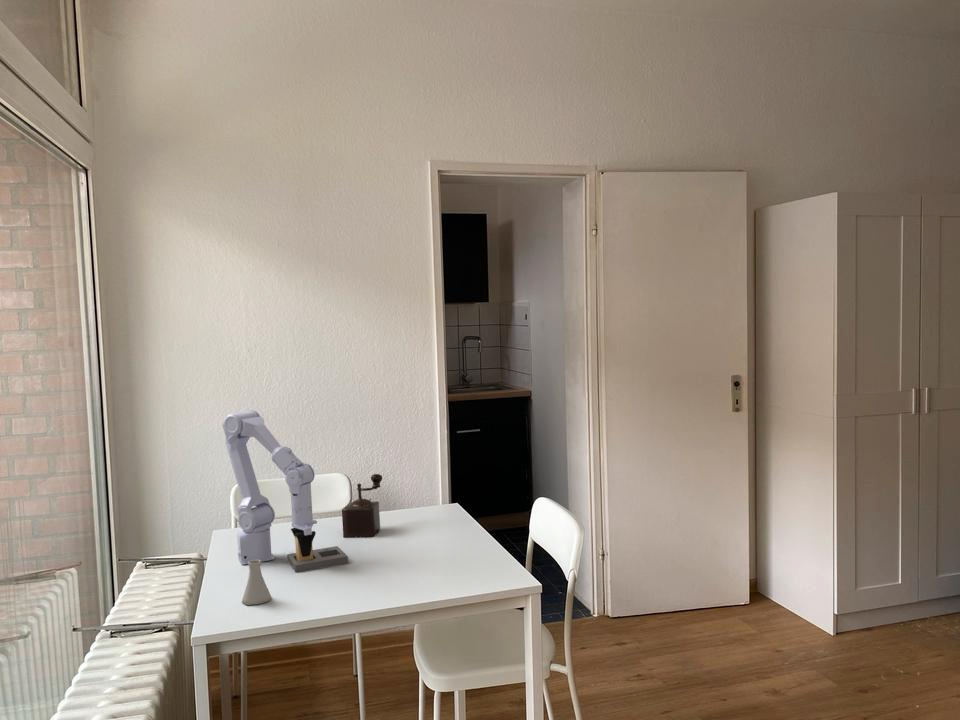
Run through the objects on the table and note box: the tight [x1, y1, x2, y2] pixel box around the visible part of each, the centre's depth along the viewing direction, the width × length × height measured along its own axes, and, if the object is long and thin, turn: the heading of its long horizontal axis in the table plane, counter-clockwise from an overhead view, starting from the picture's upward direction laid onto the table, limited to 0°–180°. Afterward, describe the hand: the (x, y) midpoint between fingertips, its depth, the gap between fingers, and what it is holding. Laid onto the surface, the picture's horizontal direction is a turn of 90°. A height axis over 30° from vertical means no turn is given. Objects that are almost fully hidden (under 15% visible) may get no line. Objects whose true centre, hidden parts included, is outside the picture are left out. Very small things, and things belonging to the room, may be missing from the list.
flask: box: [241, 560, 272, 606], centre depth 189 cm, size 7×7×10 cm
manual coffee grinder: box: [341, 473, 383, 539], centre depth 250 cm, size 16×11×18 cm
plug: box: [294, 536, 314, 561], centre depth 217 cm, size 4×4×9 cm
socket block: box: [286, 545, 349, 573], centre depth 219 cm, size 15×12×2 cm
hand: (304, 554), depth 217 cm, fingers closed on plug, 4 cm apart
